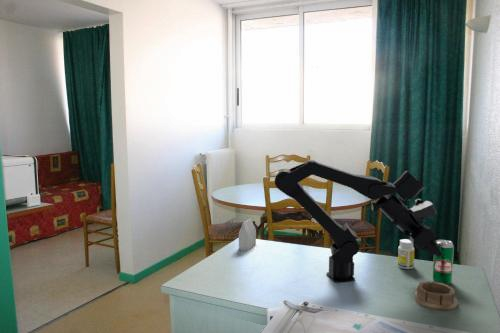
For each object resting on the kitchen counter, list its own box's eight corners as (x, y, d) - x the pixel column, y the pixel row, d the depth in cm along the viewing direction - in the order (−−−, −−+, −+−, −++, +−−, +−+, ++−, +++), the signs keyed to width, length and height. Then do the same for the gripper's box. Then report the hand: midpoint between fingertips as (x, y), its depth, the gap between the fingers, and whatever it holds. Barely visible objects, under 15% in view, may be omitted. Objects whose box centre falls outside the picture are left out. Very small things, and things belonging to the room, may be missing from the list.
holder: (431, 312, 99) (432, 299, 98) (406, 294, 108) (407, 282, 108) (466, 307, 101) (467, 294, 101) (438, 290, 111) (439, 278, 110)
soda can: (432, 283, 115) (434, 243, 114) (432, 277, 120) (434, 238, 118) (452, 286, 113) (455, 245, 112) (450, 279, 118) (453, 240, 117)
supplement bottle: (411, 264, 131) (412, 238, 130) (415, 269, 126) (416, 243, 125) (395, 263, 131) (397, 238, 130) (399, 269, 126) (400, 243, 125)
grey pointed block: (255, 245, 150) (255, 218, 149) (247, 250, 144) (247, 223, 143) (247, 243, 152) (246, 217, 151) (238, 249, 146) (238, 222, 145)
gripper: (429, 199, 105) (471, 241, 105) (409, 186, 123) (445, 222, 124) (396, 228, 107) (438, 269, 107) (382, 211, 125) (417, 246, 125)
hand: (435, 249), depth 116 cm, fingers open, 9 cm apart
